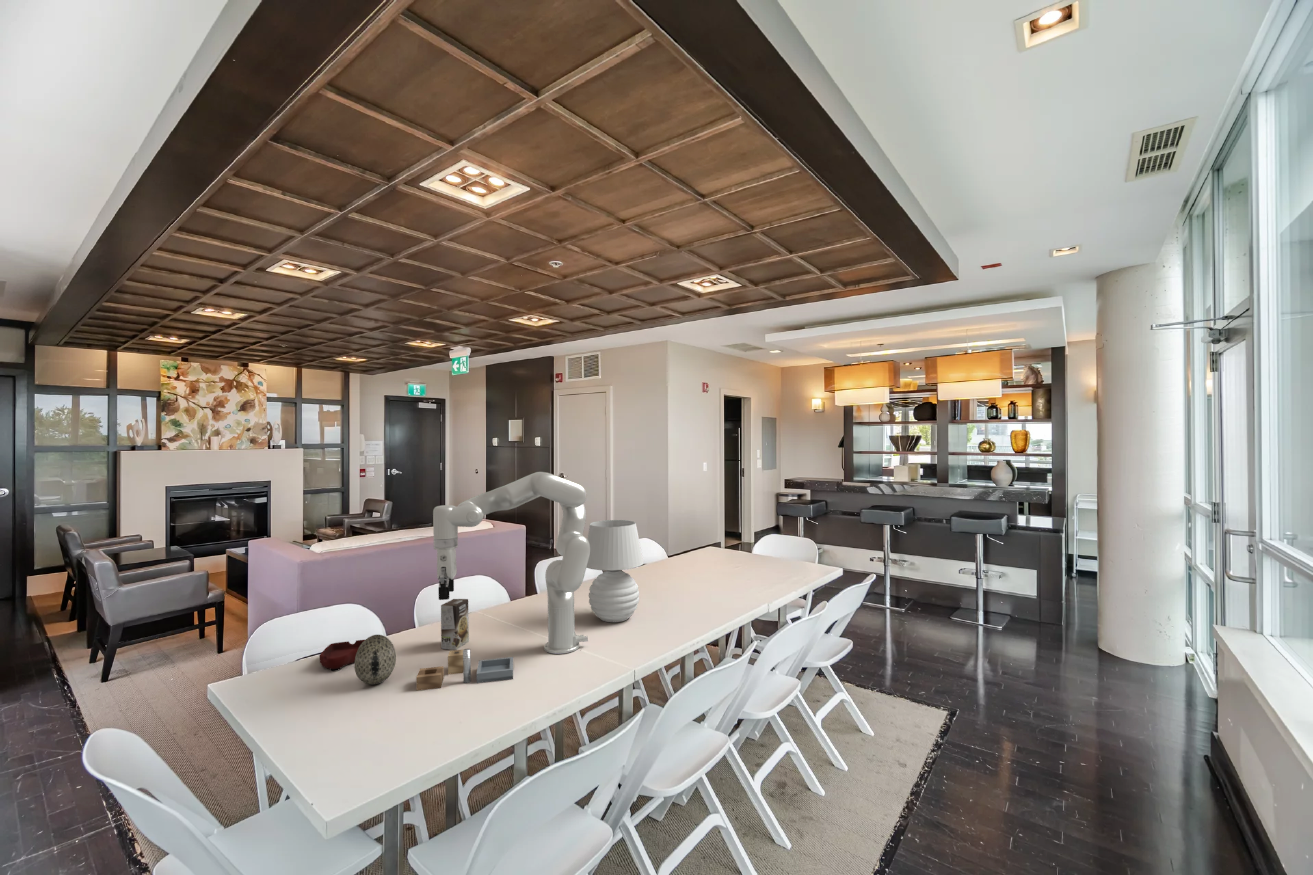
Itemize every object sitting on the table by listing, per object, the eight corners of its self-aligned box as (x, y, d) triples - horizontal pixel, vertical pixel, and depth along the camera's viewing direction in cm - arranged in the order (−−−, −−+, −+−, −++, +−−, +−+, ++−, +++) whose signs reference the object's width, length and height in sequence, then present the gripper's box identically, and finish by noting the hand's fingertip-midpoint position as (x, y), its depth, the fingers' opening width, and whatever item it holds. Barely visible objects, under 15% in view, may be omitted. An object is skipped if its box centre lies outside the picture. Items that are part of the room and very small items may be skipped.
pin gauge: (471, 679, 182) (470, 648, 182) (470, 682, 180) (470, 650, 180) (463, 680, 181) (463, 649, 181) (463, 683, 179) (462, 651, 179)
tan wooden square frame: (443, 678, 183) (443, 666, 183) (440, 687, 176) (440, 674, 176) (420, 681, 182) (420, 668, 182) (416, 690, 175) (416, 677, 175)
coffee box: (456, 650, 208) (455, 605, 208) (440, 649, 209) (439, 604, 209) (469, 641, 217) (469, 598, 217) (454, 640, 218) (453, 597, 218)
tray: (513, 665, 193) (513, 656, 193) (513, 679, 182) (512, 669, 182) (479, 669, 190) (478, 660, 190) (476, 683, 179) (476, 673, 179)
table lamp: (611, 606, 259) (609, 517, 259) (656, 615, 244) (654, 521, 244) (571, 621, 238) (569, 525, 238) (618, 632, 223) (616, 530, 223)
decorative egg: (356, 679, 184) (355, 632, 184) (396, 672, 188) (395, 627, 188) (353, 694, 173) (352, 644, 173) (395, 686, 178) (394, 638, 178)
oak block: (465, 667, 192) (465, 648, 192) (464, 672, 188) (464, 654, 188) (449, 668, 191) (449, 650, 191) (448, 674, 186) (447, 655, 186)
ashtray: (354, 648, 212) (354, 635, 212) (382, 656, 203) (382, 642, 203) (305, 666, 196) (304, 651, 196) (332, 675, 188) (332, 660, 188)
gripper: (453, 547, 181) (454, 601, 181) (461, 538, 198) (461, 587, 198) (428, 548, 179) (429, 603, 179) (438, 539, 196) (439, 589, 196)
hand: (446, 595), depth 188 cm, fingers open, 9 cm apart
